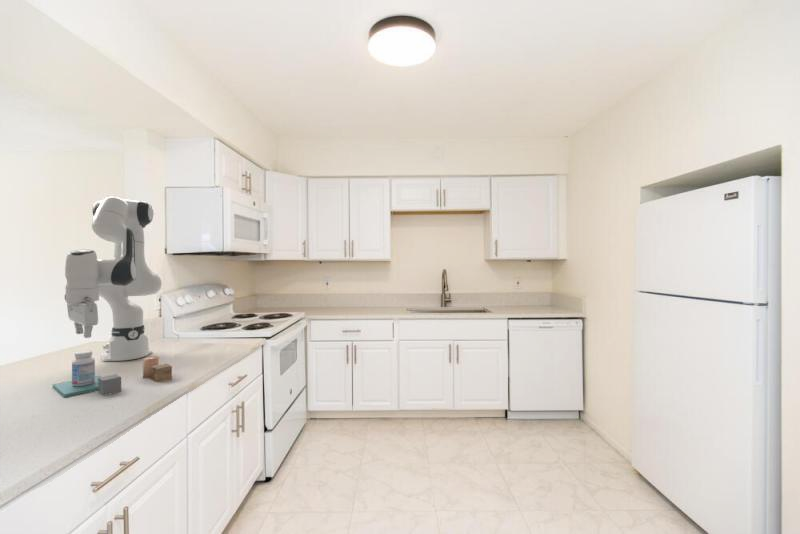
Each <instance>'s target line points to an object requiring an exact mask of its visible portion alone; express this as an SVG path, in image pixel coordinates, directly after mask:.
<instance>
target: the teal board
mask: <svg viewBox="0 0 800 534" xmlns="http://www.w3.org/2000/svg"><path fill="white" fill-rule="evenodd" d="M99 377H103V376H101V375H99V374H98V375H95V382H94V383H92V384H89V385H84V386H73V385H72V380H69V381H64V382H57V383H55V384H54V383H53V384H52V389H54V390H55V391H56V390H57V391H56V392H58V394H60V395H61V396H62V397H63V396H64V397H63V398H69V397H73V395H74V396H77V394H78V395H82V394H81V393H83V394H86V392H87V393H91V392H90V391H92V392H95V391H94V390H96V391H98V378H99ZM68 396H69V397H68Z"/></svg>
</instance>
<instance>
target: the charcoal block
mask: <svg viewBox="0 0 800 534" xmlns="http://www.w3.org/2000/svg"><path fill="white" fill-rule="evenodd" d="M118 391H120V392H122V376H121V375H119V374H117V373H115V374H111V375H104V376H102V377H99V378H98V390H97V392H99V394H100V393H101V394H102V396H106V395H105V394H107V395H110V394H109V393H112V394H115V393H114V392H116V393H119V392H118ZM101 394H100V395H101Z"/></svg>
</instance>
